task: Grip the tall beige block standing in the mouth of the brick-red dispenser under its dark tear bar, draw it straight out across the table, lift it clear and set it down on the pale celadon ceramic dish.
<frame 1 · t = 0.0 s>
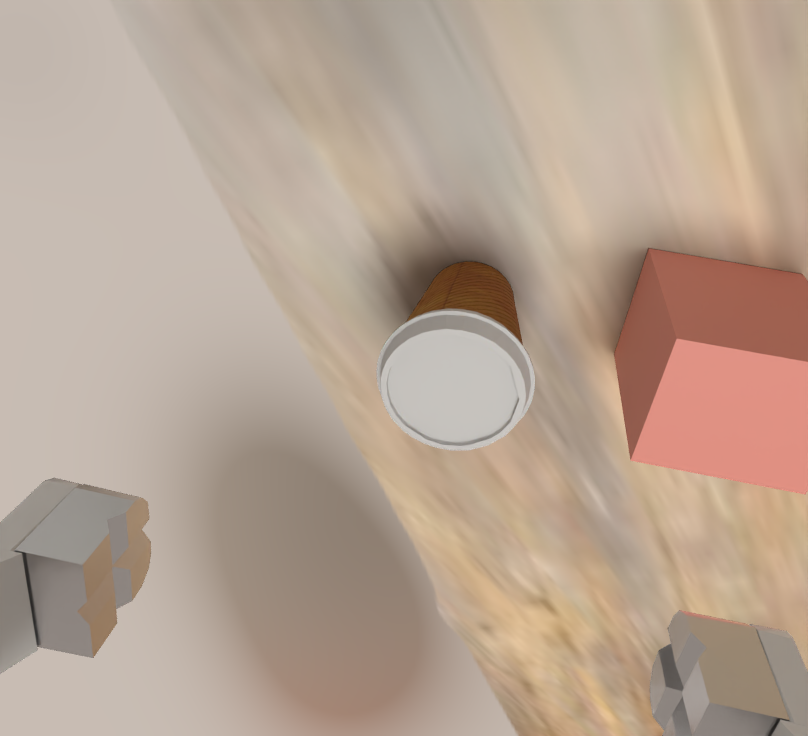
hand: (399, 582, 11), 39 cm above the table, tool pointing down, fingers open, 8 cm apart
disposable coffee cup: (470, 299, 51), on the table
dispenser: (762, 326, 49), on the table
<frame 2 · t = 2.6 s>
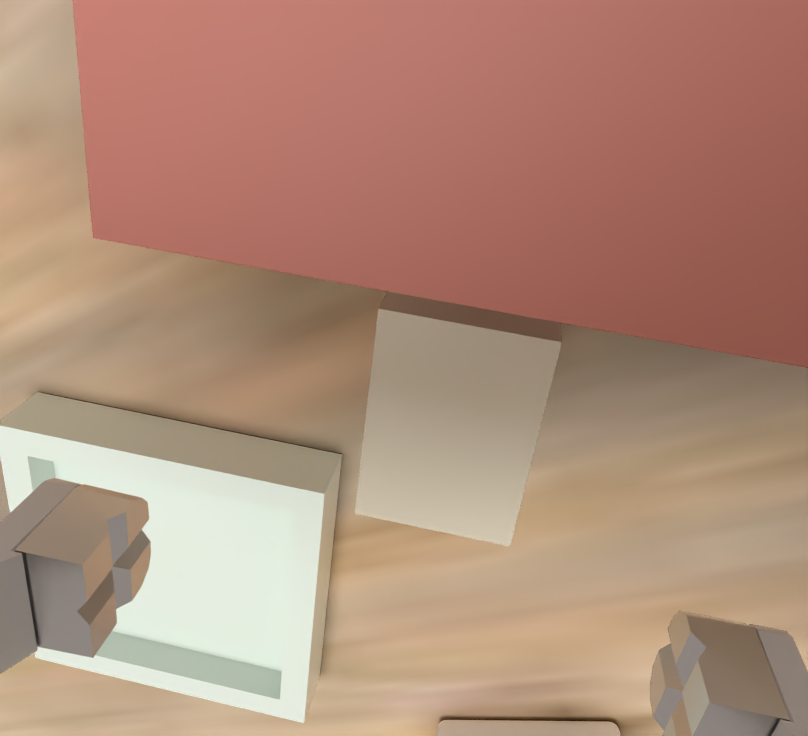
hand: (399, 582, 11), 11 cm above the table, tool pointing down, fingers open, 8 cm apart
dish: (189, 544, 27), on the table
tall beige block: (475, 308, 21), on the table
dispenser: (516, 91, 18), on the table
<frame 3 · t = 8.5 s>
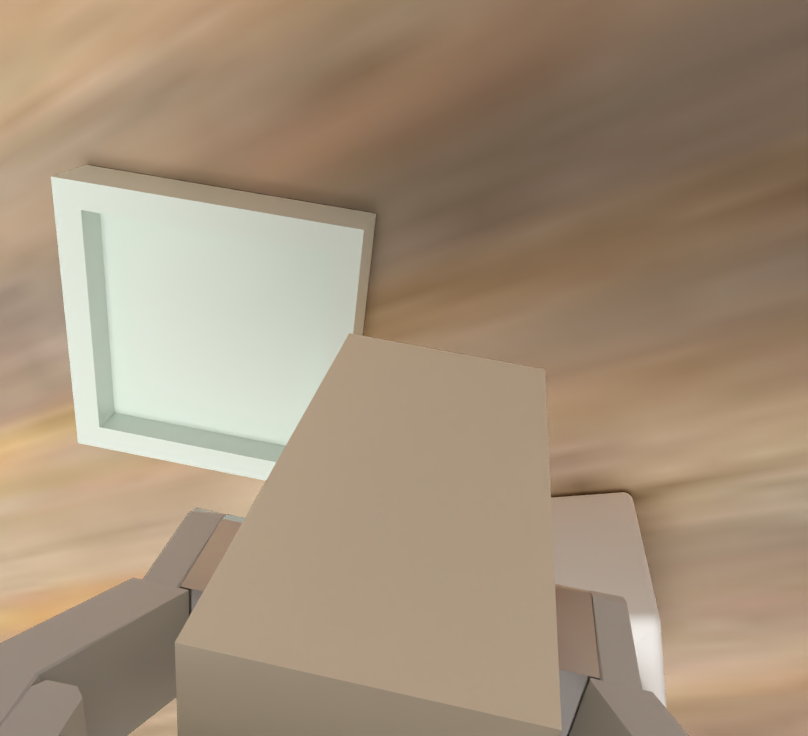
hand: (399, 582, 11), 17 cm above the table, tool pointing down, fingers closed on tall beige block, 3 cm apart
medicine bottle: (552, 557, 31), on the table
dish: (227, 325, 28), on the table
tall beige block: (426, 466, 14), point 13 cm above the table, touching gripper
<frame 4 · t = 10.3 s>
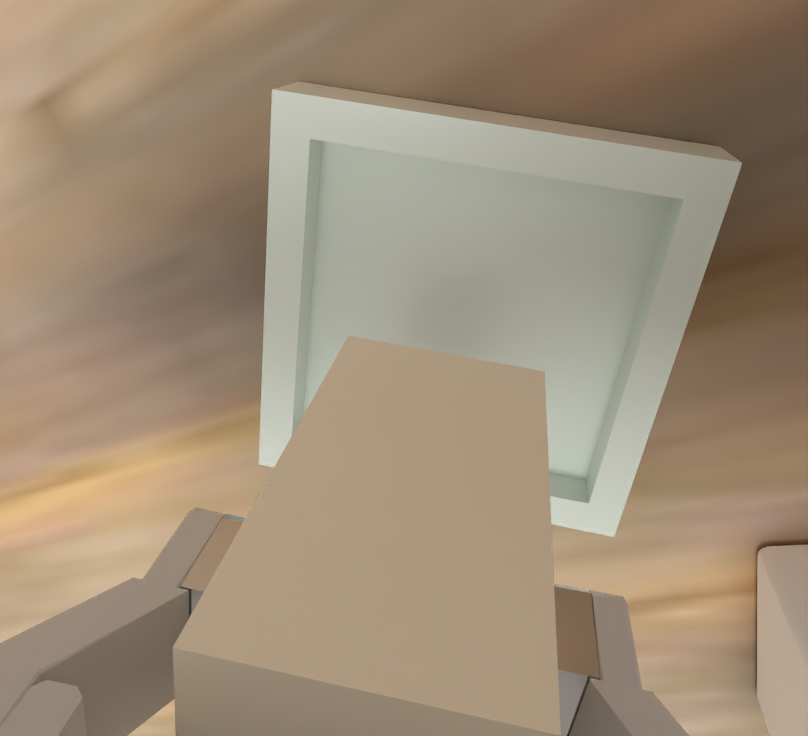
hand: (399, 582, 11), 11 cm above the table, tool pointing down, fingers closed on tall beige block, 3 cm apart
dish: (468, 307, 21), on the table
tall beige block: (425, 468, 14), point 8 cm above the table, touching gripper
when the fingers open (5 cm above the table, at t = 11.7 s): tall beige block stays where it is, resting on dish.
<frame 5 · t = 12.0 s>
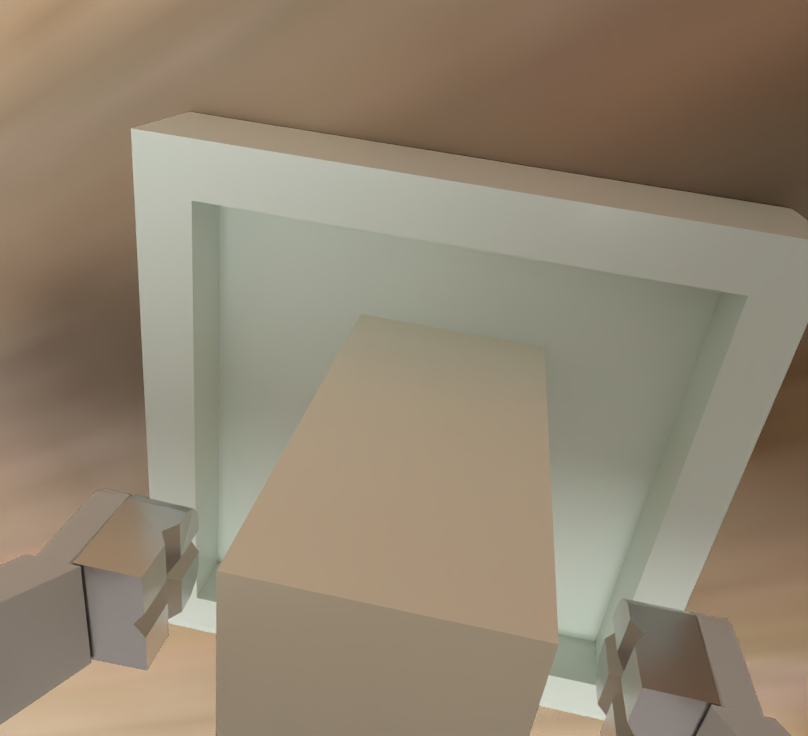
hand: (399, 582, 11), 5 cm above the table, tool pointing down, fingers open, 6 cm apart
dish: (435, 416, 15), on the table
tall beige block: (432, 441, 14), point 1 cm above the table, touching dish
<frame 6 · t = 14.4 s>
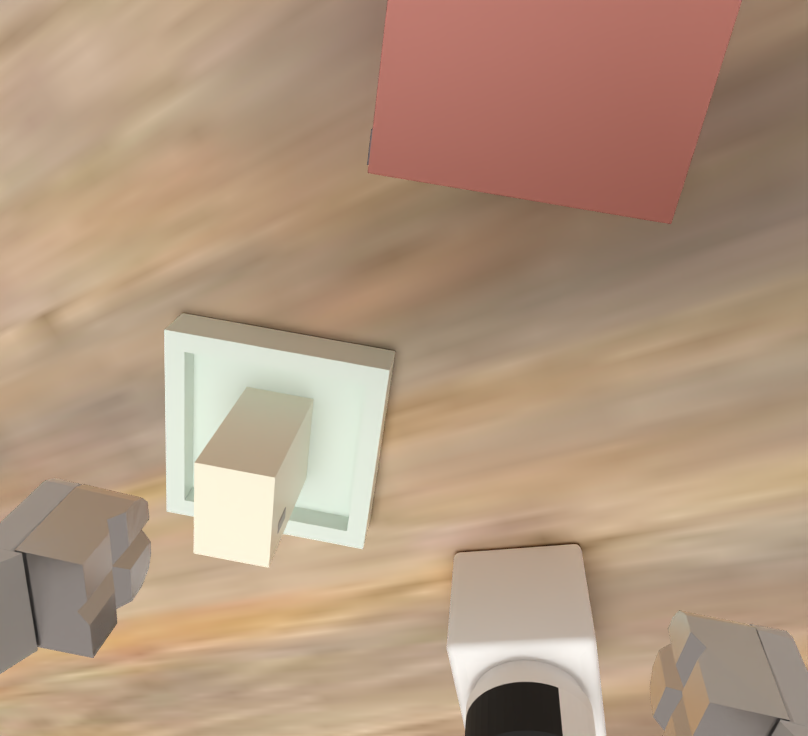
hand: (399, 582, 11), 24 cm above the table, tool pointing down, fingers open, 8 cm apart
medicine bottle: (523, 591, 41), on the table
dish: (281, 424, 38), on the table
tall beige block: (277, 434, 37), point 1 cm above the table, touching dish
dispenser: (515, 111, 30), on the table
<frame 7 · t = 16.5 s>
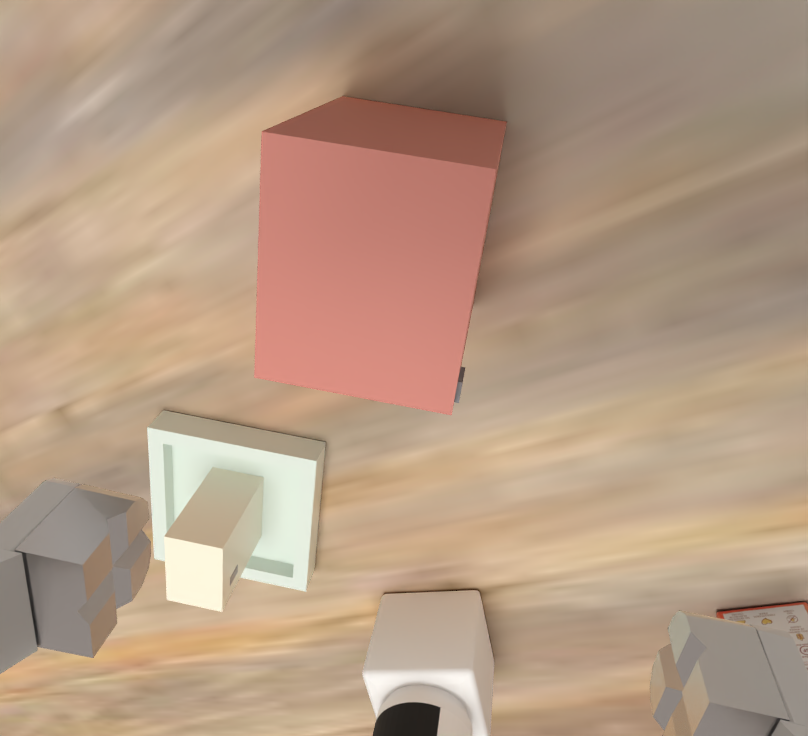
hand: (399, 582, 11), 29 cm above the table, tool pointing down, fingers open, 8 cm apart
medicine bottle: (439, 624, 51), on the table
cracker box: (772, 675, 48), on the table
dish: (242, 493, 48), on the table
tall beige block: (237, 502, 48), point 1 cm above the table, touching dish
dispenser: (401, 276, 40), on the table
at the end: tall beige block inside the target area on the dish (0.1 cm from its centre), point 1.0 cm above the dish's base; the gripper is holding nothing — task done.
